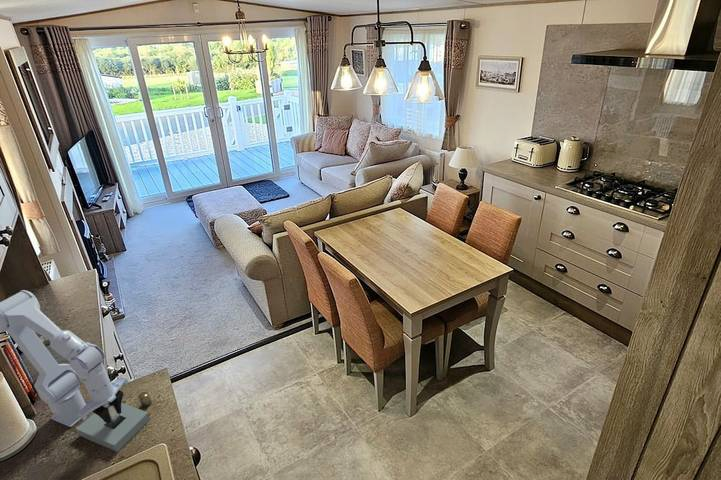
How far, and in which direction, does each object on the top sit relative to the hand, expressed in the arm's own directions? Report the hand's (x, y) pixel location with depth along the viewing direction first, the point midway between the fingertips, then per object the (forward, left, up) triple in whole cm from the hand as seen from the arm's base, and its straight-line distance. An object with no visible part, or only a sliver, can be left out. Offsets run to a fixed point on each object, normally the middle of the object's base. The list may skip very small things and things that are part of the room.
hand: (113, 416), depth 122 cm
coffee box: (-40, +11, -5) cm, 42 cm away
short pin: (+1, +10, -5) cm, 11 cm away
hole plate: (-1, 0, -5) cm, 5 cm away
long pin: (0, 0, -3) cm, 3 cm away
